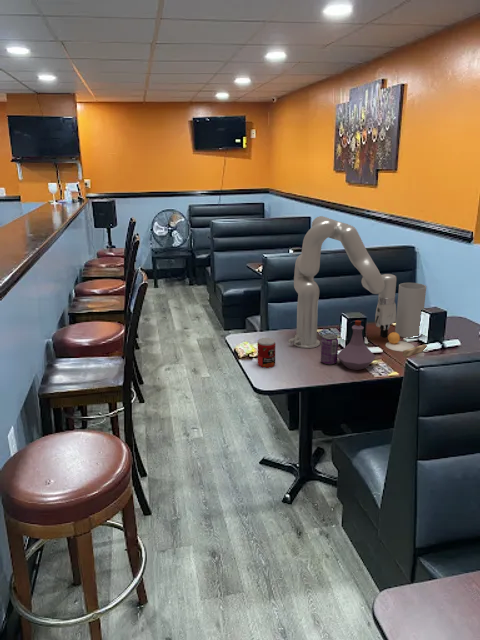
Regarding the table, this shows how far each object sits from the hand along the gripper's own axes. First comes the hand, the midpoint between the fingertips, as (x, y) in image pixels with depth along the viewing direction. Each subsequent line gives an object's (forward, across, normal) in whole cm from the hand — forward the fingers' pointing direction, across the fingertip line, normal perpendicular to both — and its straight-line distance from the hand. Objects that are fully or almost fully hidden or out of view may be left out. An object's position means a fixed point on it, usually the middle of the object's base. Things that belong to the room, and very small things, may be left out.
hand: (383, 336), depth 242 cm
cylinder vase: (+2, +16, -1) cm, 16 cm away
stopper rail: (+2, -1, -20) cm, 20 cm away
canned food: (+2, -64, +7) cm, 65 cm away
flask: (+2, -33, -15) cm, 36 cm away
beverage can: (+2, -40, -6) cm, 41 cm away
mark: (+2, 0, -10) cm, 10 cm away
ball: (-1, 0, -6) cm, 6 cm away
